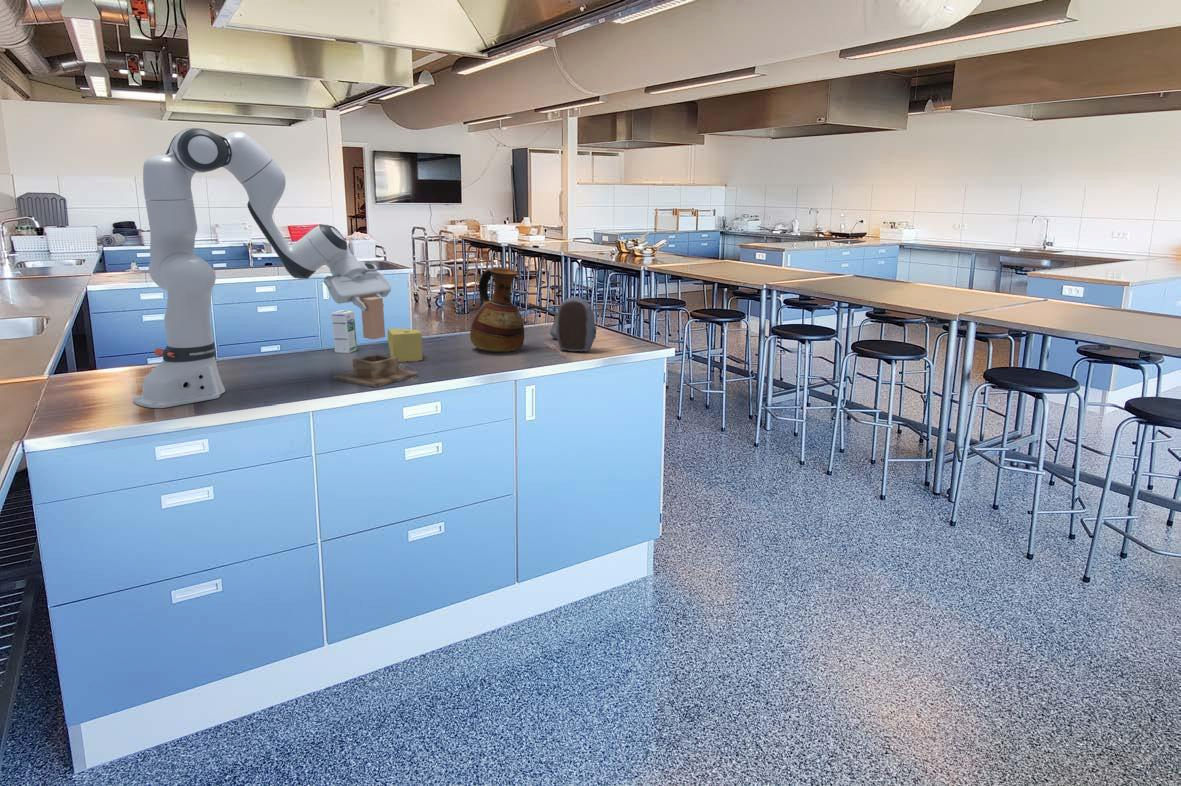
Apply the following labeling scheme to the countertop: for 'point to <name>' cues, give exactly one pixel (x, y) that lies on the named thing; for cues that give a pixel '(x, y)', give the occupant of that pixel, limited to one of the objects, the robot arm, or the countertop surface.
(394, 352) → the cheese
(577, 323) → the small grey backpack
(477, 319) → the ceramic pitcher
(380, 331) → the rust peg
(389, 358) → the socket stand
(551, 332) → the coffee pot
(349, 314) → the syrup box
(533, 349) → the countertop surface
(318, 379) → the countertop surface
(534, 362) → the countertop surface
